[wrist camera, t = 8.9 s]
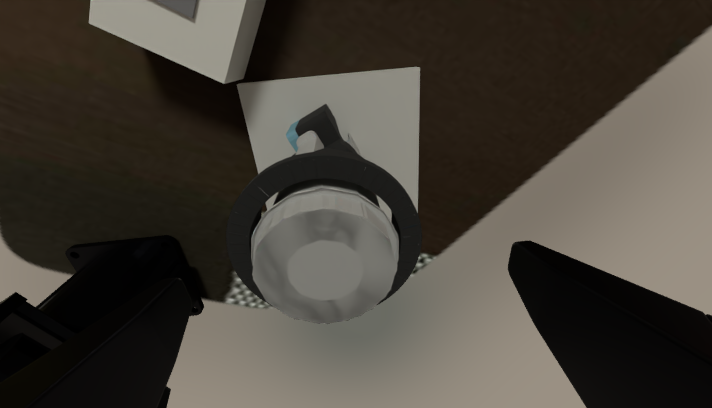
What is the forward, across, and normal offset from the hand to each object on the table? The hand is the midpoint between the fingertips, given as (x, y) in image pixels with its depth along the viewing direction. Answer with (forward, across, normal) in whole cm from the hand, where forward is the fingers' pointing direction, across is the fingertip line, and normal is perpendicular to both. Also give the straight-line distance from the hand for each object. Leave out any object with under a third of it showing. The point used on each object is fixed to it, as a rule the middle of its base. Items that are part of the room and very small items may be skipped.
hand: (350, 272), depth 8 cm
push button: (+10, 0, 0) cm, 10 cm away
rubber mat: (+10, 0, 0) cm, 10 cm away
